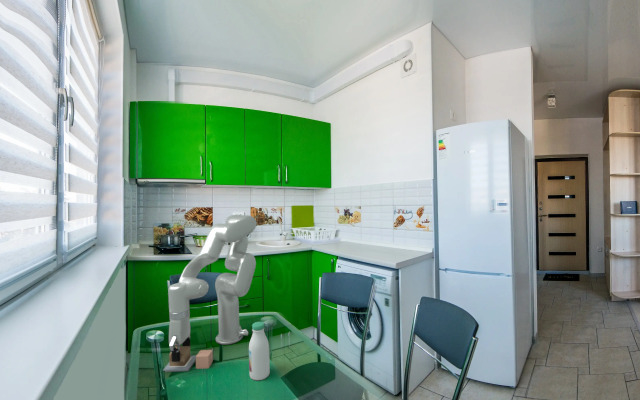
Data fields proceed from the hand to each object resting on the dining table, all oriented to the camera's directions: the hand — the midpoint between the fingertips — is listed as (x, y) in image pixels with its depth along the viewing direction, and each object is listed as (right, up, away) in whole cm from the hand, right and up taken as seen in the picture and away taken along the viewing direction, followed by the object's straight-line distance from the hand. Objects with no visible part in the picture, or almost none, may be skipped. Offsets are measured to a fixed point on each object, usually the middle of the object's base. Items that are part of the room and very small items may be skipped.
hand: (181, 354), depth 126 cm
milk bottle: (+34, -4, -9) cm, 35 cm away
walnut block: (0, -3, 0) cm, 3 cm away
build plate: (0, -4, 0) cm, 4 cm away
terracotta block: (+10, -4, -1) cm, 11 cm away
